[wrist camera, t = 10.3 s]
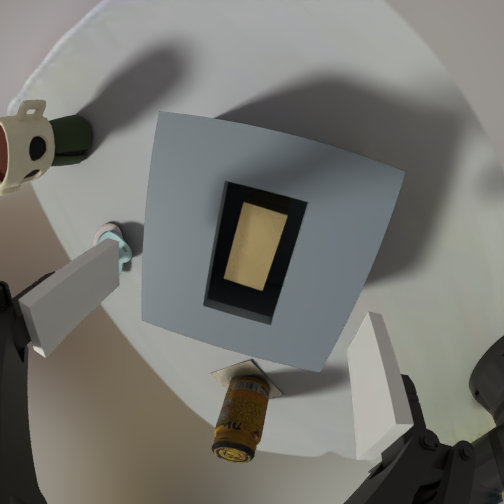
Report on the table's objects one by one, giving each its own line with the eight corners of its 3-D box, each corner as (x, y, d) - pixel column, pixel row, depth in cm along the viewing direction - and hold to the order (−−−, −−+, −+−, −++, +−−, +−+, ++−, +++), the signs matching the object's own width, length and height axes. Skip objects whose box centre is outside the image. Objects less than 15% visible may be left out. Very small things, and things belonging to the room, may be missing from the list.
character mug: (78, 189, 30) (0, 221, 19) (49, 161, 30) (-26, 183, 18) (113, 113, 26) (24, 117, 14) (79, 89, 25) (-4, 88, 13)
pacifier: (90, 249, 34) (119, 280, 35) (59, 268, 28) (91, 303, 29) (110, 210, 31) (143, 244, 32) (76, 225, 25) (113, 265, 26)
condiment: (243, 404, 40) (227, 467, 29) (210, 372, 38) (183, 438, 28) (283, 393, 38) (273, 463, 27) (250, 358, 36) (230, 432, 25)
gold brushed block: (291, 192, 26) (287, 215, 18) (273, 249, 28) (262, 290, 21) (260, 183, 26) (243, 201, 19) (244, 240, 28) (223, 278, 21)
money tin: (365, 157, 24) (405, 171, 14) (317, 300, 31) (319, 372, 21) (212, 118, 25) (159, 111, 15) (187, 264, 32) (141, 320, 22)
